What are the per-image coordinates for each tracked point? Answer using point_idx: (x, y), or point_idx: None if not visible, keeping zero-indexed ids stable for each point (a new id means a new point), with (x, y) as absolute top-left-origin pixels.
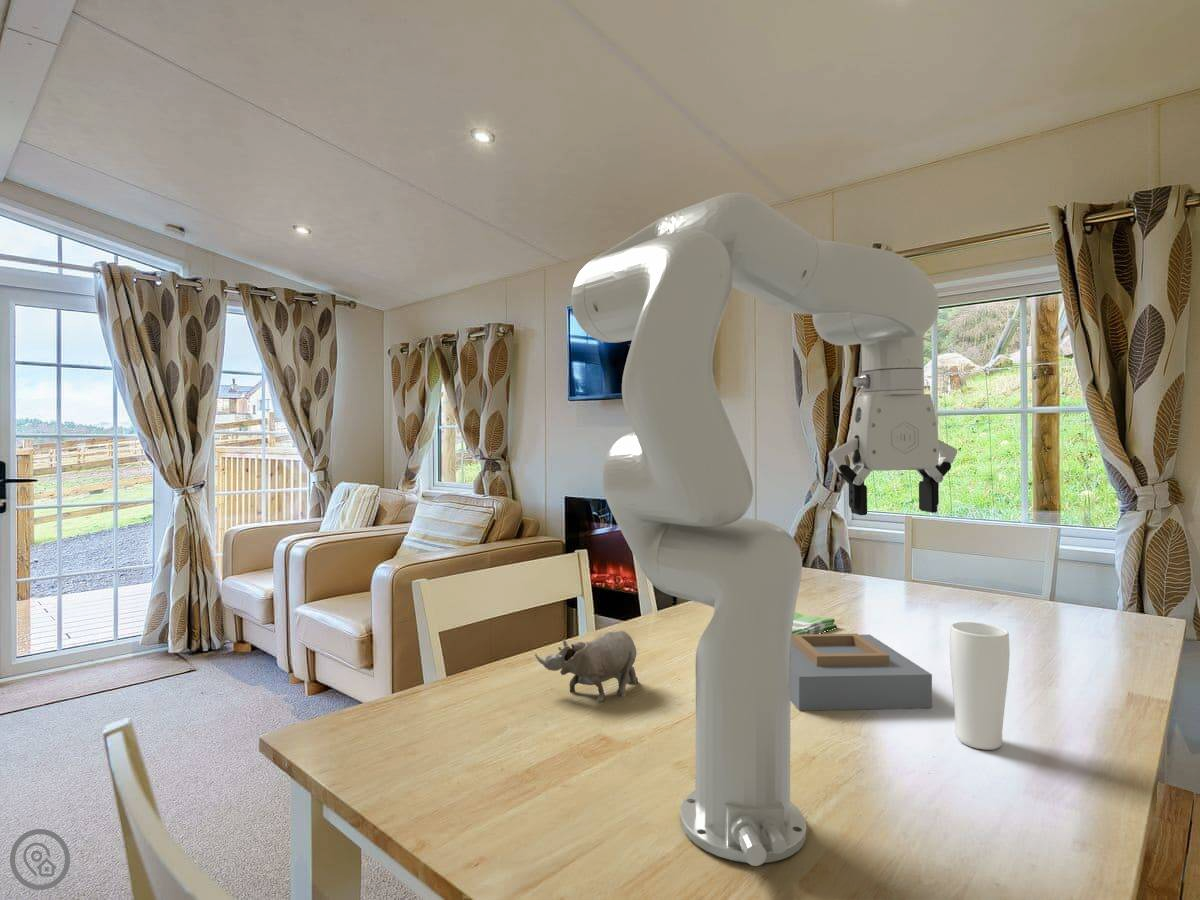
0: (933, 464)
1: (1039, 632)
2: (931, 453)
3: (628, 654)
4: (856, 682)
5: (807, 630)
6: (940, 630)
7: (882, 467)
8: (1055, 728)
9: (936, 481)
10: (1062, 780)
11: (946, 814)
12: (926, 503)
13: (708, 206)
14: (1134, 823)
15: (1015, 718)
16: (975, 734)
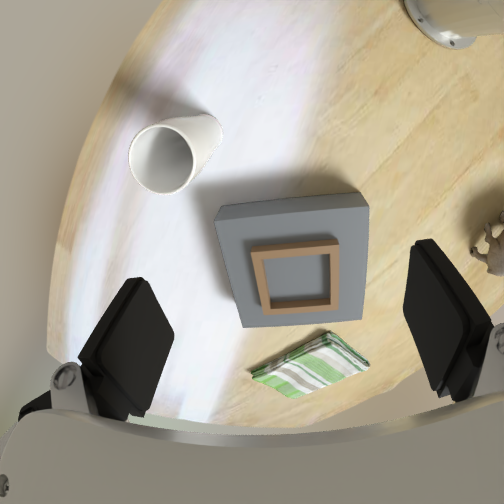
0: (34, 417)
1: None
2: (16, 478)
3: (502, 244)
4: (302, 208)
5: (285, 360)
6: (167, 362)
7: (472, 416)
8: (130, 175)
9: (78, 367)
10: (164, 74)
11: (288, 6)
12: (149, 320)
13: None
14: (148, 24)
15: None
16: (210, 117)
